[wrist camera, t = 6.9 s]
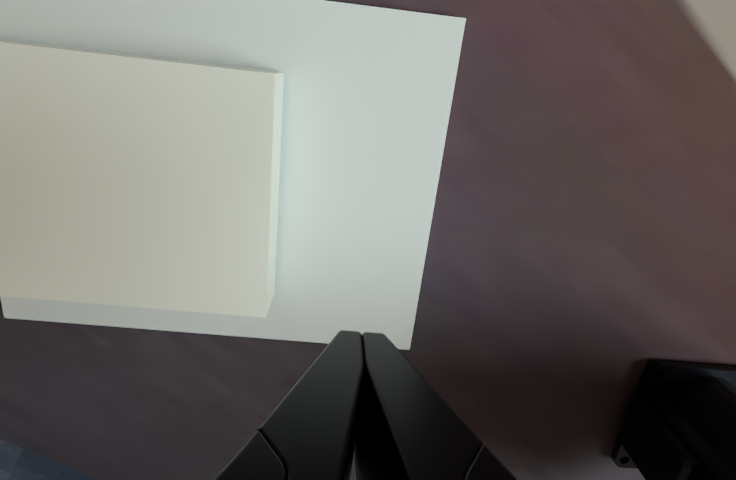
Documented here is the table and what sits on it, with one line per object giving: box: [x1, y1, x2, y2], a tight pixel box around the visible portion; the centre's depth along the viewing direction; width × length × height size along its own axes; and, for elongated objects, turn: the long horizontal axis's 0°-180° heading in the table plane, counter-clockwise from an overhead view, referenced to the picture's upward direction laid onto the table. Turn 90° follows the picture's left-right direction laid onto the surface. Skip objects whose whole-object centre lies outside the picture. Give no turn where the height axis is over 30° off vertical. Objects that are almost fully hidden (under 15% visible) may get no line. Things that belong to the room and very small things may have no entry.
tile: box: [0, 39, 284, 318], centre depth 17 cm, size 2×9×10 cm
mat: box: [0, 0, 466, 350], centre depth 19 cm, size 18×14×1 cm
